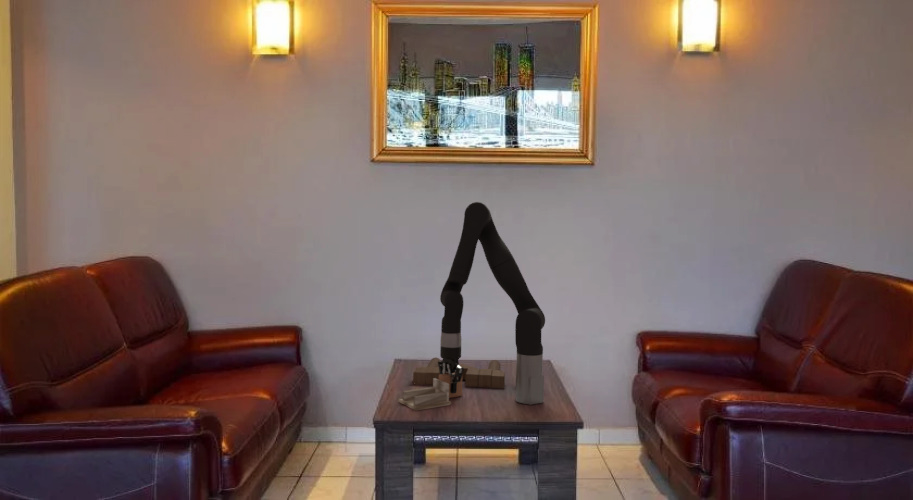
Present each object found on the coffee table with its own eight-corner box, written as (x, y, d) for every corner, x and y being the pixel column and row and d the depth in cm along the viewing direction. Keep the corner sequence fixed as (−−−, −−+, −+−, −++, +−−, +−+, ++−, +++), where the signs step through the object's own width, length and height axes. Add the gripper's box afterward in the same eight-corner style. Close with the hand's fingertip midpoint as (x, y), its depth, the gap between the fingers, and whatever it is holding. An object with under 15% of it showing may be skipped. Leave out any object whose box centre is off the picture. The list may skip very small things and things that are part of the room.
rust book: (462, 395, 251) (462, 373, 251) (443, 398, 247) (443, 376, 246) (456, 393, 254) (457, 371, 254) (438, 396, 250) (438, 374, 249)
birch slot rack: (450, 404, 240) (451, 384, 240) (415, 410, 232) (416, 390, 232) (432, 396, 250) (433, 377, 250) (398, 401, 242) (398, 382, 242)
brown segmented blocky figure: (503, 389, 263) (506, 371, 292) (504, 375, 263) (506, 358, 292) (412, 385, 267) (424, 368, 296) (413, 371, 266) (424, 355, 296)
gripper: (470, 347, 246) (469, 394, 247) (448, 340, 257) (448, 386, 258) (453, 349, 241) (452, 397, 242) (431, 342, 253) (431, 388, 254)
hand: (450, 391), depth 250 cm, fingers closed on rust book, 3 cm apart
